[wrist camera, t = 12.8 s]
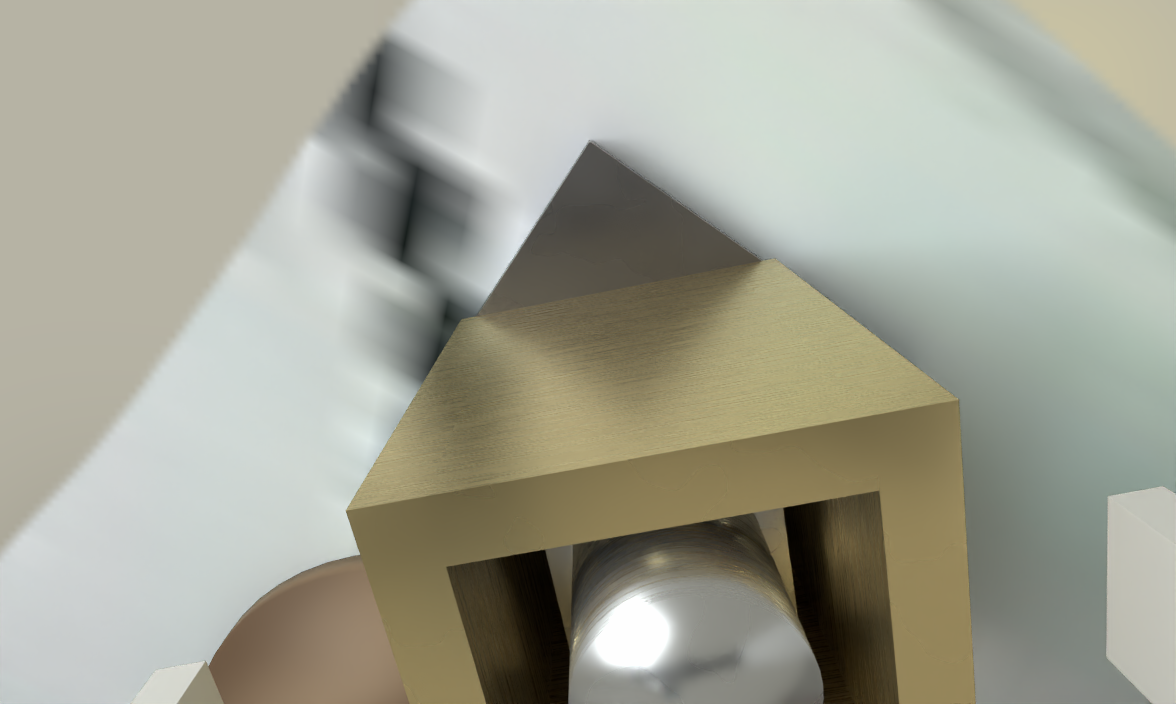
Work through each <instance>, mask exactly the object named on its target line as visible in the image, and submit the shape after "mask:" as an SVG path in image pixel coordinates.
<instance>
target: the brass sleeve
mask: <svg viewBox="0 0 1176 704" xmlns="http://www.w3.org/2000/svg"><path fill="white" fill-rule="evenodd" d="M778 508H783V511H784V519H785V526H786V533H787V541H788V548H789V555H790V563H791V570H792V578H793V585H794V592H795V600H796V607H797V614H798V618H799V621H800V623H801V625H802V628H803V630H804V632H805V635H806V637H807V640H808V642H809V644H810V647H811V649H812V651H813V654H814V656H815V659H816V661H817V664H818V666H819V669H820V672H821V677H822V682H823V694H824V699H823V704H976V701H975V683H974V665H973V647H972V629H971V611H970V593H969V574H968V556H967V538H966V520H965V502H964V484H963V466H962V447H961V429H960V411H959V399H957V398H956V397H955V396H954V395H952V394H951V393H950V392H948V391H947V390H946V389H944V388H943V387H942V386H940V385H939V384H938V383H937V382H935V381H934V380H933V379H931V378H930V377H929V376H927V375H926V374H925V373H924V372H922V371H921V370H920V369H918V368H917V367H916V366H914V365H913V364H912V363H911V362H909V361H908V360H907V359H905V358H904V357H903V356H901V355H900V354H899V353H897V352H896V351H895V350H894V349H892V348H891V347H890V346H888V345H887V344H886V343H884V342H883V341H882V340H881V339H879V338H878V337H877V336H875V335H874V334H873V333H871V332H870V331H869V330H868V329H866V328H865V327H864V326H862V325H861V324H860V323H858V322H857V321H856V320H854V319H853V318H852V317H851V316H849V315H848V314H847V313H845V312H844V311H843V310H841V309H840V308H839V307H838V306H836V305H835V304H834V303H832V302H831V301H830V300H828V299H827V298H826V297H825V296H823V295H822V294H821V293H819V292H818V291H817V290H815V289H814V288H813V287H811V286H810V285H809V284H808V283H806V282H805V281H804V280H802V279H801V278H800V277H798V276H797V275H796V274H795V273H793V272H792V271H791V270H789V269H788V268H787V267H785V266H784V265H783V264H782V263H780V262H779V261H778V260H776V259H770V260H764V261H759V262H754V263H749V264H744V265H739V266H734V267H728V268H723V269H718V270H713V271H708V272H703V273H698V274H692V275H687V276H682V277H677V278H672V279H667V280H662V281H656V282H651V283H646V284H641V285H636V286H631V287H625V288H620V289H615V290H610V291H605V292H600V293H595V294H589V295H584V296H579V297H574V298H569V299H564V300H559V301H553V302H548V303H543V304H538V305H533V306H528V307H523V308H517V309H512V310H507V311H502V312H497V313H492V314H486V315H481V316H476V317H471V318H466V319H461V321H460V323H459V324H458V326H457V328H456V329H455V331H454V333H453V334H452V336H451V338H450V339H449V341H448V343H447V344H446V346H445V348H444V349H443V351H442V352H441V354H440V356H439V357H438V359H437V361H436V362H435V364H434V366H433V367H432V369H431V371H430V372H429V374H428V376H427V377H426V379H425V381H424V382H423V384H422V386H421V387H420V389H419V391H418V392H417V394H416V395H415V397H414V399H413V400H412V402H411V404H410V405H409V407H408V409H407V410H406V412H405V414H404V415H403V417H402V419H401V420H400V422H399V424H398V425H397V427H396V429H395V430H394V432H393V434H392V435H391V437H390V438H389V440H388V442H387V443H386V445H385V447H384V448H383V450H382V452H381V453H380V455H379V457H378V458H377V460H376V462H375V463H374V465H373V467H372V468H371V470H370V472H369V473H368V475H367V477H366V478H365V480H364V481H363V483H362V485H361V486H360V488H359V490H358V491H357V493H356V495H355V496H354V498H353V500H352V501H351V503H350V505H349V506H348V508H347V510H346V513H347V516H348V519H349V522H350V525H351V528H352V531H353V534H354V537H355V540H356V543H357V546H358V549H359V552H360V555H361V558H362V561H363V564H364V567H365V570H366V573H367V577H368V580H369V583H370V586H371V589H372V592H373V595H374V598H375V601H376V604H377V607H378V610H379V613H380V616H381V619H382V622H383V625H384V628H385V631H386V634H387V637H388V640H389V643H390V646H391V649H392V652H393V655H394V658H395V661H396V664H397V667H398V670H399V673H400V676H401V679H402V682H403V686H404V689H405V692H406V695H407V698H408V701H409V704H569V702H568V697H569V664H570V649H569V644H568V640H567V636H566V632H565V628H564V624H563V620H562V616H561V612H560V608H559V604H558V600H557V596H556V592H555V588H554V583H553V579H552V575H551V571H550V567H549V563H548V559H547V555H546V551H545V549H550V548H556V547H561V546H567V545H573V544H579V543H584V542H590V541H596V540H601V539H607V538H613V537H618V536H624V535H630V534H635V533H641V532H647V531H653V530H658V529H664V528H670V527H675V526H681V525H687V524H692V523H698V522H704V521H709V520H715V519H721V518H727V517H732V516H738V515H744V514H749V513H755V512H761V511H766V510H772V509H778Z"/></svg>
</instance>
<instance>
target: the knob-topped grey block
mask: <svg viewBox="0 0 1176 704" xmlns="http://www.w3.org/2000/svg"><path fill="white" fill-rule="evenodd" d="M759 261H763V260H762V259H760V258H759V257H757V256H756V255H754V254H753V253H752V252H750V251H749V250H747V249H746V248H744V247H743V246H742V245H740V244H739V243H737V242H736V241H734V240H733V239H731V238H730V237H729V236H727V235H726V234H724V233H723V232H721V231H720V230H718V229H717V228H716V227H714V226H713V225H711V224H710V223H708V222H707V221H706V220H704V219H703V218H701V217H700V216H698V215H697V214H695V213H694V212H693V211H691V210H690V209H688V208H687V207H685V206H684V205H682V204H681V203H680V202H678V201H677V200H675V199H674V198H672V197H671V196H670V195H668V194H667V193H665V192H664V191H662V190H661V189H659V188H658V187H657V186H655V185H654V184H652V183H651V182H649V181H648V180H646V179H645V178H644V177H642V176H641V175H639V174H638V173H636V172H635V171H634V170H632V169H631V168H629V167H628V166H626V165H625V164H623V163H622V162H621V161H619V160H618V159H616V158H615V157H613V156H612V155H610V154H609V153H608V152H606V151H605V150H603V149H602V148H600V147H599V146H598V145H596V144H595V143H593V142H592V141H590V140H589V142H588V143H587V145H586V146H585V148H584V149H583V151H582V152H581V154H580V156H579V157H578V159H577V160H576V162H575V163H574V165H573V166H572V168H571V170H570V171H569V173H568V174H567V176H566V177H565V179H564V180H563V182H562V183H561V185H560V187H559V188H558V190H557V191H556V193H555V194H554V196H553V197H552V199H551V201H550V202H549V204H548V205H547V207H546V208H545V210H544V211H543V213H542V214H541V216H540V218H539V219H538V221H537V222H536V224H535V225H534V227H533V228H532V230H531V232H530V233H529V235H528V236H527V238H526V239H525V241H524V242H523V244H522V245H521V247H520V249H519V250H518V252H517V253H516V255H515V256H514V258H513V259H512V261H511V263H510V264H509V266H508V267H507V269H506V270H505V272H504V273H503V275H502V276H501V278H500V280H499V281H498V283H497V284H496V286H495V287H494V289H493V290H492V292H491V294H490V295H489V297H488V298H487V300H486V301H485V303H484V304H483V306H482V307H481V309H480V311H479V312H478V314H477V315H476V316H481V315H486V314H492V313H497V312H502V311H507V310H512V309H517V308H523V307H528V306H533V305H538V304H543V303H548V302H553V301H559V300H564V299H569V298H574V297H579V296H584V295H589V294H595V293H600V292H605V291H610V290H615V289H620V288H625V287H631V286H636V285H641V284H646V283H651V282H656V281H662V280H667V279H672V278H677V277H682V276H687V275H692V274H698V273H703V272H708V271H713V270H718V269H723V268H728V267H734V266H739V265H744V264H749V263H754V262H759ZM927 376H928V375H927ZM545 551H546V555H547V559H548V563H549V567H550V571H551V575H552V579H553V583H554V588H555V592H556V596H557V600H558V604H559V608H560V612H561V616H562V620H563V624H564V628H565V632H566V636H567V640H568V644H569V649H570V664H569V697H568V702H569V704H823V699H824V694H823V682H822V677H821V672H820V669H819V666H818V664H817V661H816V659H815V656H814V654H813V651H812V649H811V647H810V644H809V642H808V640H807V637H806V635H805V632H804V630H803V628H802V625H801V623H800V621H799V618H798V614H797V607H796V600H795V592H794V585H793V578H792V570H791V563H790V555H789V548H788V541H787V533H786V526H785V519H784V511H783V508H778V509H772V510H766V511H761V512H755V513H749V514H744V515H738V516H732V517H727V518H721V519H715V520H709V521H704V522H698V523H692V524H687V525H681V526H675V527H670V528H664V529H658V530H653V531H647V532H641V533H635V534H630V535H624V536H618V537H613V538H607V539H601V540H596V541H590V542H584V543H579V544H573V545H567V546H561V547H556V548H550V549H545Z"/></svg>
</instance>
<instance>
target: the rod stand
mask: <svg viewBox="0 0 1176 704" xmlns="http://www.w3.org/2000/svg"><path fill="white" fill-rule="evenodd" d="M209 670H210V672H211V674H212V677H213V679H214V682H215V684H216V686H217V689H218V691H219V693H220V696H221V698H222V701H223V703H224V704H409V701H408V698H407V695H406V692H405V689H404V686H403V682H402V679H401V676H400V673H399V670H398V667H397V664H396V661H395V658H394V655H393V652H392V649H391V646H390V643H389V640H388V637H387V634H386V631H385V628H384V625H383V622H382V619H381V616H380V613H379V610H378V607H377V604H376V601H375V598H374V595H373V592H372V589H371V586H370V583H369V580H368V577H367V573H366V570H365V567H364V564H363V561H362V558H361V555H359V556H352V557H348V558H344V559H340V560H336V561H332V562H328V563H325V564H322V565H320V566H317V567H314V568H312V569H309V570H306V571H304V572H301V573H300V574H298V575H296V576H294V577H292V578H290V579H288V580H286V581H285V582H283V583H281V584H279V585H278V586H276V587H275V588H274V589H272V590H271V591H270V592H268V593H267V594H265V595H264V596H263V597H261V598H260V599H259V600H258V601H257V602H256V603H255V604H254V605H253V606H252V607H251V608H250V609H249V610H248V611H247V612H246V613H245V614H244V615H242V617H241V618H240V619H239V621H238V622H237V623H236V625H235V626H234V627H233V629H232V630H231V632H230V633H229V634H228V636H227V637H226V639H225V640H224V641H223V643H222V644H221V646H220V647H219V649H218V650H217V652H216V653H215V655H214V657H213V659H212V661H211V663H210V665H209Z"/></svg>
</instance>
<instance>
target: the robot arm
mask: <svg viewBox="0 0 1176 704" xmlns="http://www.w3.org/2000/svg"><path fill="white" fill-rule="evenodd" d="M1106 657H1107V658H1108V659H1109V660H1110V661H1111V662H1112V663H1113V664H1114V666H1115V667H1116V668H1117V669H1118V670H1119V671H1120V672H1121V673H1122V674H1123V675H1124V676H1125V677H1126V678H1127V679H1128V680H1129V681H1130V682H1131V683H1132V684H1133V685H1134V686H1135V687H1136V688H1137V689H1138V690H1139V691H1140V692H1141V693H1142V694H1143V695H1144V696H1145V697H1146V698H1147V699H1148V700H1149V701H1150V702H1151V703H1152V704H1176V494H1175V493H1173V492H1172V491H1170V490H1169V489H1167V488H1165V487H1164V486H1161V487H1156V488H1150V489H1145V490H1139V491H1134V492H1128V493H1123V494H1117V495H1112V496H1108V533H1107V643H1106ZM130 704H224V703H223V701H222V698H221V696H220V693H219V691H218V689H217V686H216V684H215V682H214V679H213V677H212V674H211V672H210V670H209V667H208V665H207V663H206V661H202V662H196V663H191V664H185V665H180V666H174V667H169V668H163V669H158V670H155V671H154V673H153V674H152V675H151V677H150V678H149V679H148V681H147V682H146V683H145V685H144V686H143V687H142V689H141V690H140V691H139V693H138V694H137V695H136V697H135V698H134V699H133V701H132V702H131V703H130Z"/></svg>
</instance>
